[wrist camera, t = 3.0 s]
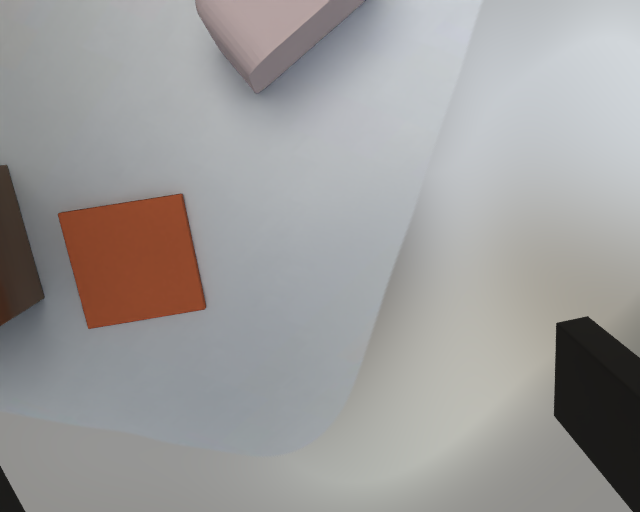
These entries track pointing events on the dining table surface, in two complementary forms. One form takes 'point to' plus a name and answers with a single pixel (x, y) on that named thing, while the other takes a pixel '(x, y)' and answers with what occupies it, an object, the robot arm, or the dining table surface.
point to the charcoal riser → (15, 256)
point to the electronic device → (270, 32)
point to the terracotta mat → (133, 260)
